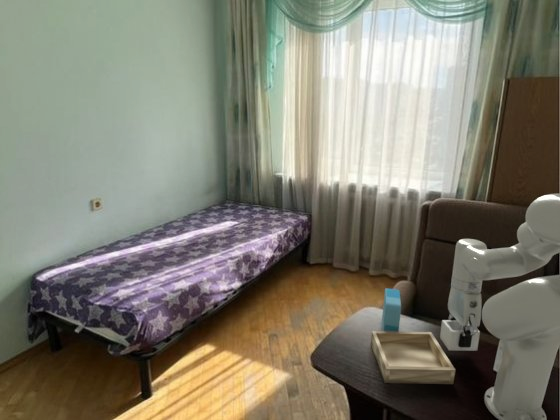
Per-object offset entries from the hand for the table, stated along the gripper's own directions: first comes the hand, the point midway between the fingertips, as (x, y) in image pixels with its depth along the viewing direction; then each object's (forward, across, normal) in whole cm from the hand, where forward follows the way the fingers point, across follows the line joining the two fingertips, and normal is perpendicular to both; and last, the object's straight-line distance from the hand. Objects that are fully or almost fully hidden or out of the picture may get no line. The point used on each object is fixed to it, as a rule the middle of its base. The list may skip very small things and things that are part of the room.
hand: (458, 339), depth 103 cm
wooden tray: (+5, -4, +15) cm, 17 cm away
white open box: (+2, 0, 0) cm, 2 cm away
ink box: (+6, -9, -11) cm, 15 cm away
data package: (+5, +12, +16) cm, 21 cm away
